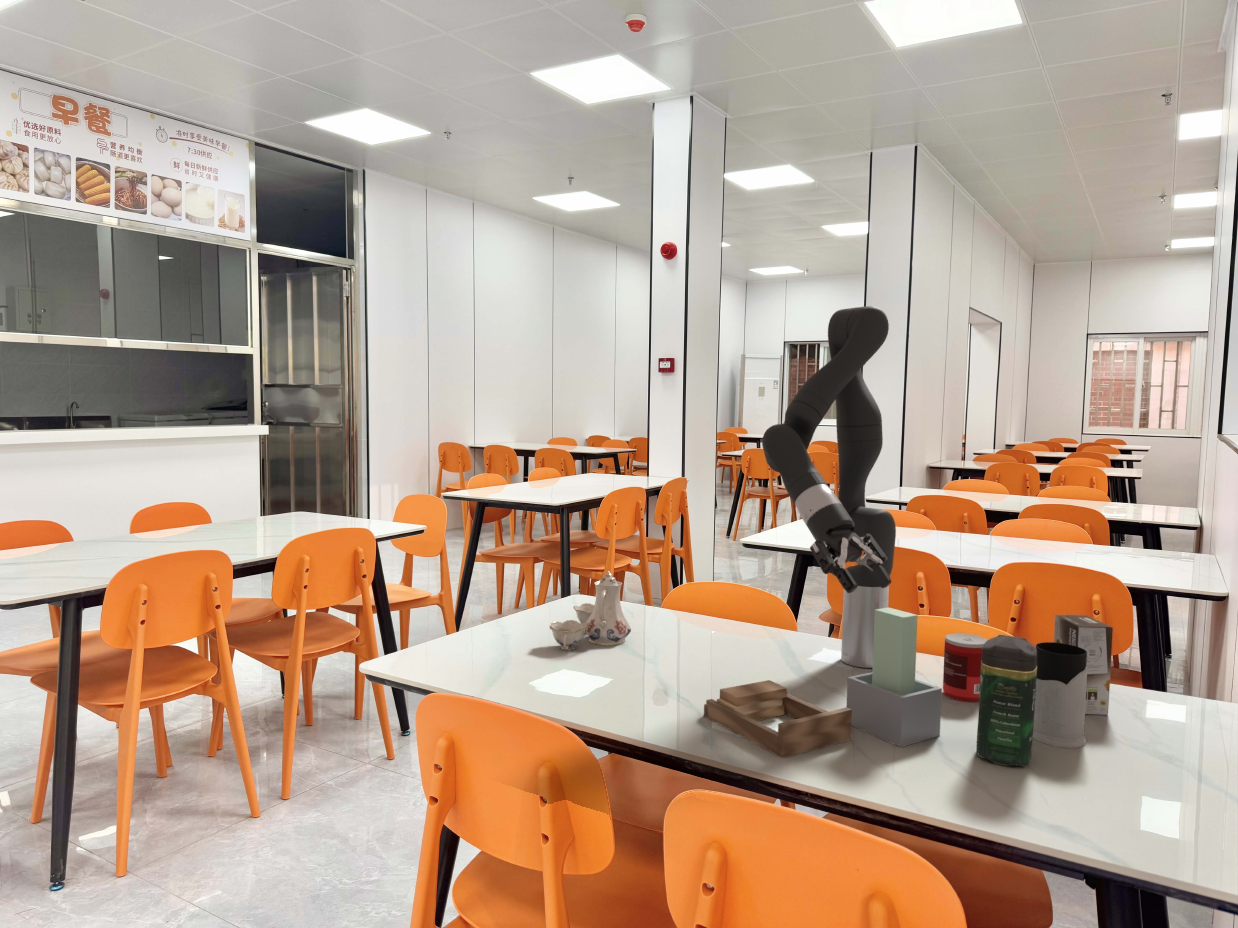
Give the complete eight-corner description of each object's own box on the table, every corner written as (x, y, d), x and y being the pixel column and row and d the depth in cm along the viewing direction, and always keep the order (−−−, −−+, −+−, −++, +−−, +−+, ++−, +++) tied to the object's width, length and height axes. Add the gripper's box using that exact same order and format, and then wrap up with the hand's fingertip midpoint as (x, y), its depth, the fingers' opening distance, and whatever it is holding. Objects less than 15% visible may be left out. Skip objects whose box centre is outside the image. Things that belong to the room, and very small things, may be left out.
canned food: (986, 692, 159) (989, 636, 158) (985, 705, 151) (988, 646, 151) (943, 685, 162) (946, 630, 161) (941, 698, 155) (943, 640, 154)
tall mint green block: (884, 721, 143) (889, 607, 141) (912, 733, 137) (917, 615, 136) (870, 724, 141) (874, 609, 139) (898, 736, 136) (903, 617, 134)
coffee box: (1110, 715, 147) (1115, 627, 146) (1074, 714, 147) (1078, 626, 146) (1083, 697, 156) (1087, 614, 155) (1049, 696, 157) (1053, 613, 156)
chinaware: (575, 628, 206) (569, 563, 205) (640, 625, 203) (635, 559, 202) (546, 661, 178) (539, 586, 178) (622, 659, 175) (615, 582, 175)
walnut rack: (768, 701, 151) (769, 674, 151) (850, 739, 134) (851, 709, 134) (703, 715, 144) (704, 687, 143) (782, 757, 126) (783, 726, 126)
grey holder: (884, 713, 146) (886, 668, 146) (939, 735, 136) (941, 688, 136) (845, 722, 141) (847, 677, 141) (900, 746, 131) (902, 697, 131)
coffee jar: (1030, 772, 123) (1036, 650, 122) (973, 760, 127) (978, 642, 125) (1034, 750, 131) (1040, 635, 130) (980, 739, 135) (985, 628, 134)
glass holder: (1078, 752, 131) (1083, 659, 130) (986, 727, 140) (990, 641, 139) (1092, 736, 137) (1097, 648, 136) (1003, 714, 147) (1007, 631, 146)
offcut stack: (766, 704, 149) (767, 678, 149) (786, 714, 145) (787, 687, 144) (715, 716, 143) (715, 689, 143) (734, 726, 139) (735, 698, 138)
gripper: (806, 503, 145) (854, 579, 136) (862, 499, 153) (911, 571, 144) (784, 529, 150) (829, 604, 141) (840, 524, 158) (885, 595, 149)
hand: (870, 587), depth 143 cm, fingers open, 8 cm apart
